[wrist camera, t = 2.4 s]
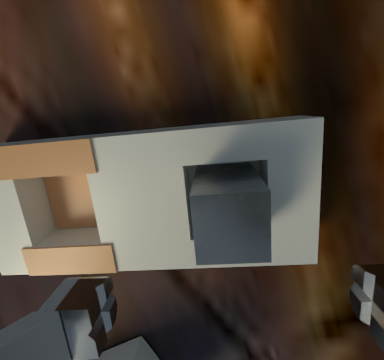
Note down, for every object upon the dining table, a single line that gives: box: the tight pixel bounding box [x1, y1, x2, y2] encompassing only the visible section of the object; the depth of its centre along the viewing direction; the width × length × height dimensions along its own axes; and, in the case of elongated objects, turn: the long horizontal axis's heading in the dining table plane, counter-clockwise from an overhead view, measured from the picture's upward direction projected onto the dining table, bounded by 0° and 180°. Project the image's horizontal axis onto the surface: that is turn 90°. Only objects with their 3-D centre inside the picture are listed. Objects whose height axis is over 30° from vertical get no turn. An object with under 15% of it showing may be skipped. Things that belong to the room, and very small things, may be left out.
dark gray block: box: [189, 162, 272, 265], centre depth 16 cm, size 4×4×7 cm
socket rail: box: [0, 115, 324, 276], centre depth 19 cm, size 24×10×4 cm, turn 95°
